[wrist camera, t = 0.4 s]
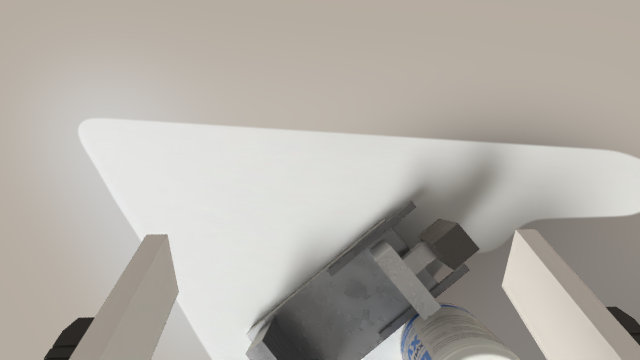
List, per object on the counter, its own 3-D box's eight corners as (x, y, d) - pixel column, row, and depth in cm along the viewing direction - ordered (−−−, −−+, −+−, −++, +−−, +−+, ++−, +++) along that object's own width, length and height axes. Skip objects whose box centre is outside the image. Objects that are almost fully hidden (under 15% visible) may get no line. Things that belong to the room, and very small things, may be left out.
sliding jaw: (468, 254, 45) (494, 266, 37) (411, 301, 45) (425, 322, 37) (426, 204, 45) (443, 206, 38) (369, 251, 45) (376, 262, 38)
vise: (463, 267, 47) (493, 284, 38) (304, 397, 47) (297, 445, 38) (406, 199, 48) (422, 200, 39) (250, 328, 48) (229, 360, 39)
